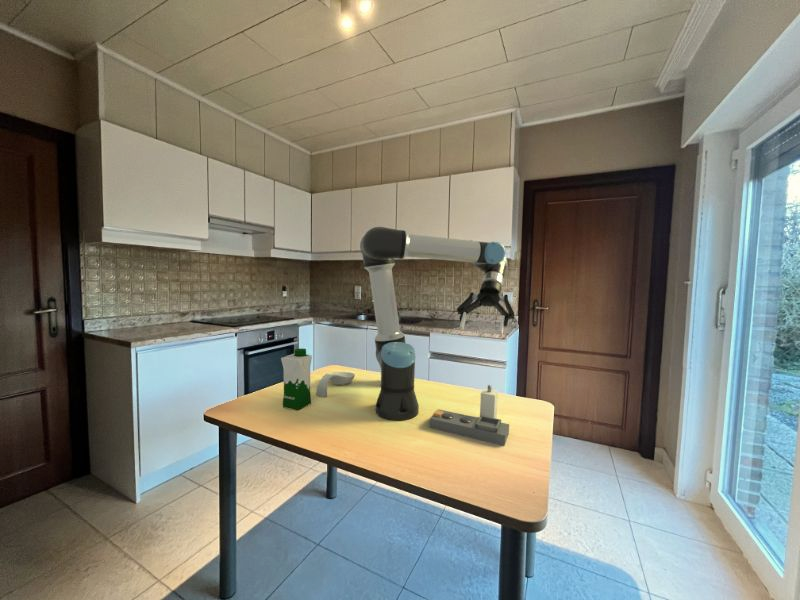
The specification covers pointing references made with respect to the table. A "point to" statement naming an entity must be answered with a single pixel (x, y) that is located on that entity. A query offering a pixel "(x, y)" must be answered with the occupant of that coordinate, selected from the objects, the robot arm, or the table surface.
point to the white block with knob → (488, 402)
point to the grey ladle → (333, 381)
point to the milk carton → (296, 380)
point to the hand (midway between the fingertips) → (480, 330)
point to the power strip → (471, 426)
